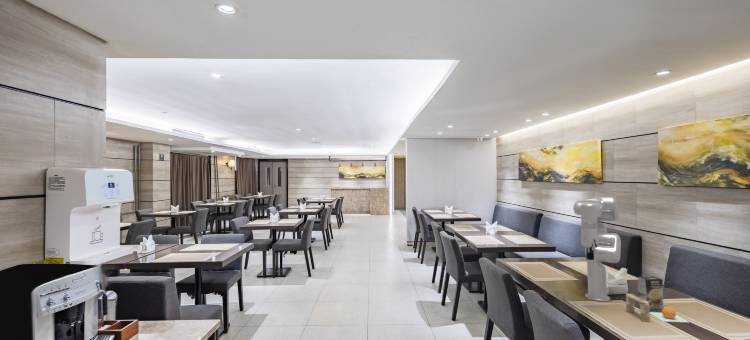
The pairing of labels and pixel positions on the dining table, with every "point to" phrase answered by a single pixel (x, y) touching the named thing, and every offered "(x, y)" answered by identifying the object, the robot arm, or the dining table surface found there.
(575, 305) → the dining table surface
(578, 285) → the dining table surface
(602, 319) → the dining table surface
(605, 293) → the robot arm
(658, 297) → the coffee box
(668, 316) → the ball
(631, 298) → the bridge
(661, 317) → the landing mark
